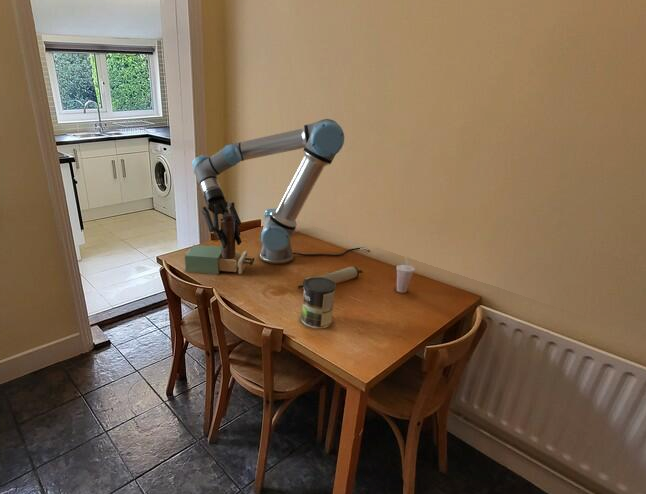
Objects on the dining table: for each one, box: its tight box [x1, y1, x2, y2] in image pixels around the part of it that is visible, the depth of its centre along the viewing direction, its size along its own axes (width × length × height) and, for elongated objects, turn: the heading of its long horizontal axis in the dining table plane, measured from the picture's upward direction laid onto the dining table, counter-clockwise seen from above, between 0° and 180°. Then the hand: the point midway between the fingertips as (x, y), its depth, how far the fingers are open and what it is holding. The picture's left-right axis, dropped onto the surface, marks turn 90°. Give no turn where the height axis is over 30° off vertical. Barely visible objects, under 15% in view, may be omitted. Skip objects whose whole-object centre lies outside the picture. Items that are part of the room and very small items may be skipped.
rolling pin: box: [297, 266, 363, 289], centre depth 163 cm, size 32×6×5 cm, turn 117°
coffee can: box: [301, 276, 337, 330], centre depth 137 cm, size 10×10×14 cm
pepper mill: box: [219, 212, 237, 259], centre depth 156 cm, size 5×5×17 cm
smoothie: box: [395, 256, 415, 294], centre depth 156 cm, size 6×6×14 cm
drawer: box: [218, 250, 255, 275], centre depth 177 cm, size 18×11×6 cm, turn 77°
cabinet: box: [184, 244, 222, 275], centre depth 179 cm, size 15×13×8 cm
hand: (232, 244), depth 154 cm, fingers closed on pepper mill, 5 cm apart
